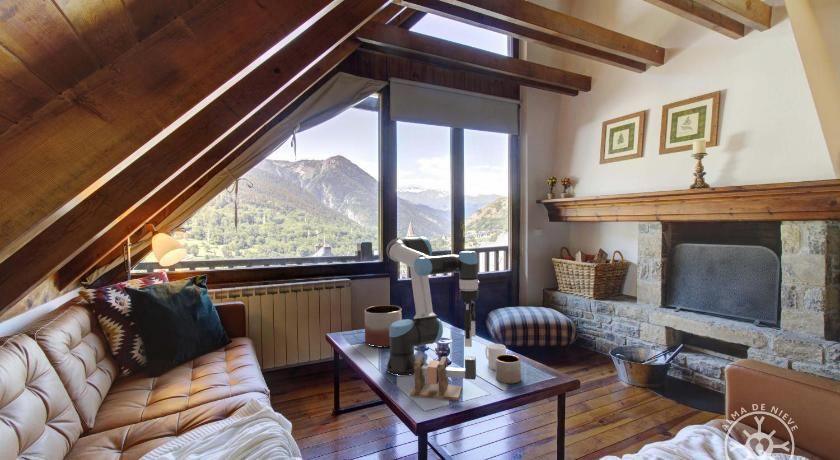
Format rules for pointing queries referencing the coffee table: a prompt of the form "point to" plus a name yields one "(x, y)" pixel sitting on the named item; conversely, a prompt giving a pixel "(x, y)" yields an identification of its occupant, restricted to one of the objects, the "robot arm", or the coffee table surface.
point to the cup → (494, 354)
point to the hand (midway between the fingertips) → (470, 341)
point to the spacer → (432, 372)
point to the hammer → (458, 370)
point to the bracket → (434, 390)
